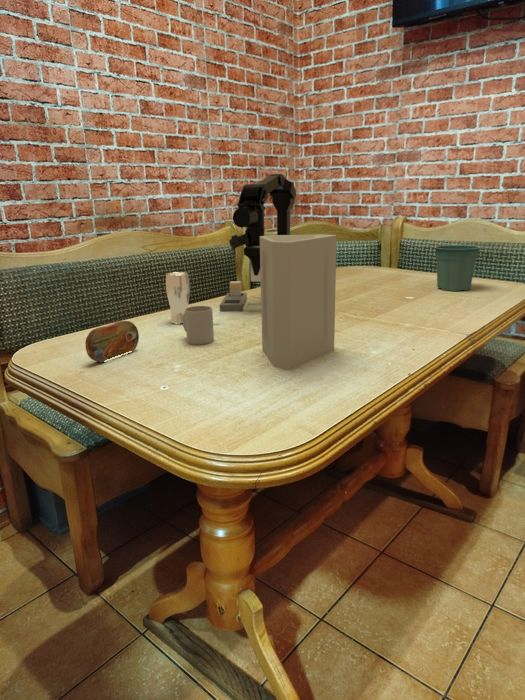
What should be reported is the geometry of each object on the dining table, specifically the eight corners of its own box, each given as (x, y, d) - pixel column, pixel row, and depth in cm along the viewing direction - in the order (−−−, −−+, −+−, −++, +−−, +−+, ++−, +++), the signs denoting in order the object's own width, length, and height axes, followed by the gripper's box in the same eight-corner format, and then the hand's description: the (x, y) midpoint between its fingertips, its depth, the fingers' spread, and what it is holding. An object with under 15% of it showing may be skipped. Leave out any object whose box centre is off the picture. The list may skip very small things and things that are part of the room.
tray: (271, 307, 173) (271, 302, 173) (270, 313, 164) (270, 308, 164) (245, 307, 174) (245, 302, 173) (243, 313, 165) (242, 308, 165)
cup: (199, 346, 131) (197, 313, 128) (174, 340, 137) (172, 308, 135) (219, 340, 136) (217, 308, 134) (194, 334, 142) (192, 303, 140)
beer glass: (193, 319, 159) (190, 271, 155) (188, 324, 153) (185, 275, 148) (172, 319, 160) (168, 271, 155) (166, 324, 153) (162, 275, 149)
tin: (94, 367, 118) (90, 332, 115) (85, 364, 119) (80, 330, 117) (141, 349, 130) (138, 318, 127) (132, 348, 131) (129, 316, 129)
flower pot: (422, 287, 200) (425, 246, 195) (453, 283, 207) (457, 243, 202) (453, 294, 186) (457, 250, 181) (485, 289, 193) (490, 247, 188)
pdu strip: (246, 300, 184) (246, 280, 181) (241, 313, 165) (240, 290, 162) (227, 301, 184) (226, 280, 182) (220, 313, 165) (218, 291, 163)
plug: (262, 279, 168) (262, 258, 165) (261, 281, 164) (261, 259, 162) (251, 279, 168) (250, 258, 166) (250, 281, 164) (250, 259, 162)
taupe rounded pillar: (288, 339, 135) (287, 232, 127) (335, 349, 126) (338, 235, 118) (240, 358, 121) (235, 239, 113) (289, 370, 112) (289, 242, 104)
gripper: (233, 224, 170) (235, 270, 175) (226, 227, 152) (228, 279, 157) (266, 223, 169) (267, 269, 174) (263, 227, 151) (264, 279, 156)
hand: (256, 274), depth 165 cm, fingers closed on plug, 4 cm apart
